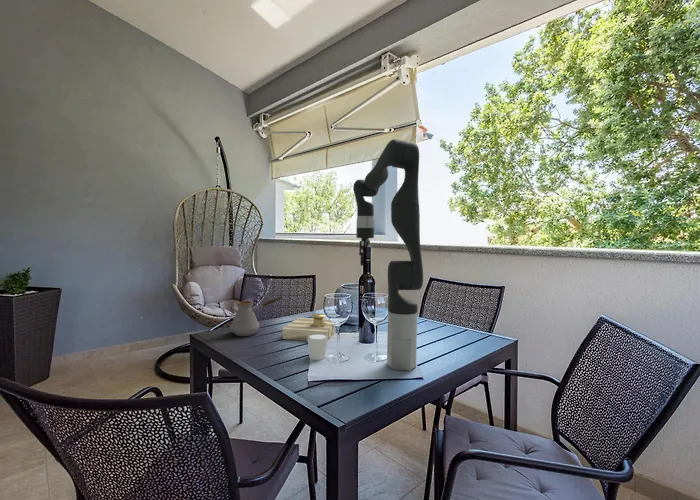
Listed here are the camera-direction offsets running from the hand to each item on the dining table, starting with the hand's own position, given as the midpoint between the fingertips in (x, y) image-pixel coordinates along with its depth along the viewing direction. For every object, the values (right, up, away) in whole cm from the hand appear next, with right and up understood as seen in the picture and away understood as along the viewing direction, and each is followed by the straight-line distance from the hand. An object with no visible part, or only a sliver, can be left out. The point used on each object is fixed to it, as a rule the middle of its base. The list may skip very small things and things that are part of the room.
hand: (364, 264), depth 150 cm
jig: (-22, -28, -6) cm, 37 cm away
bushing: (-19, -28, -7) cm, 35 cm away
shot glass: (-17, -30, -33) cm, 48 cm away
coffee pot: (-45, -28, -6) cm, 53 cm away
